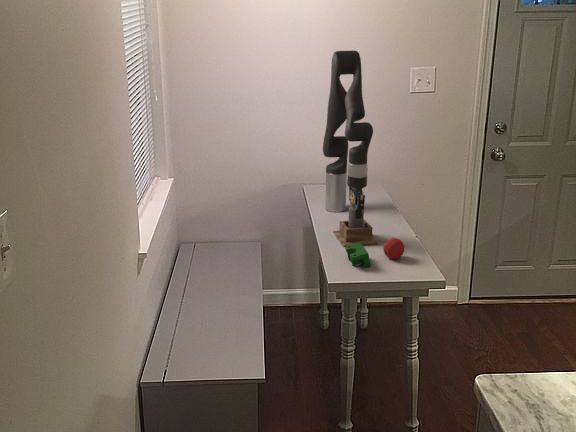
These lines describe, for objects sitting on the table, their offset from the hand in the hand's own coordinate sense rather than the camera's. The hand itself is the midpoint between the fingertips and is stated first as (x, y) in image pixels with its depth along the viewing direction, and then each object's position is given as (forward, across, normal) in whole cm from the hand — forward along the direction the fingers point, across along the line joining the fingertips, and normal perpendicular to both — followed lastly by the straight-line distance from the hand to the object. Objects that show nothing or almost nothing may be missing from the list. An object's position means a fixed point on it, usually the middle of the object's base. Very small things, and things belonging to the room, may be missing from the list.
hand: (356, 215), depth 262 cm
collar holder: (+10, 0, 0) cm, 10 cm away
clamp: (+10, +24, -6) cm, 27 cm away
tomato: (+10, +22, +8) cm, 25 cm away
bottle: (+8, 0, 0) cm, 8 cm away
